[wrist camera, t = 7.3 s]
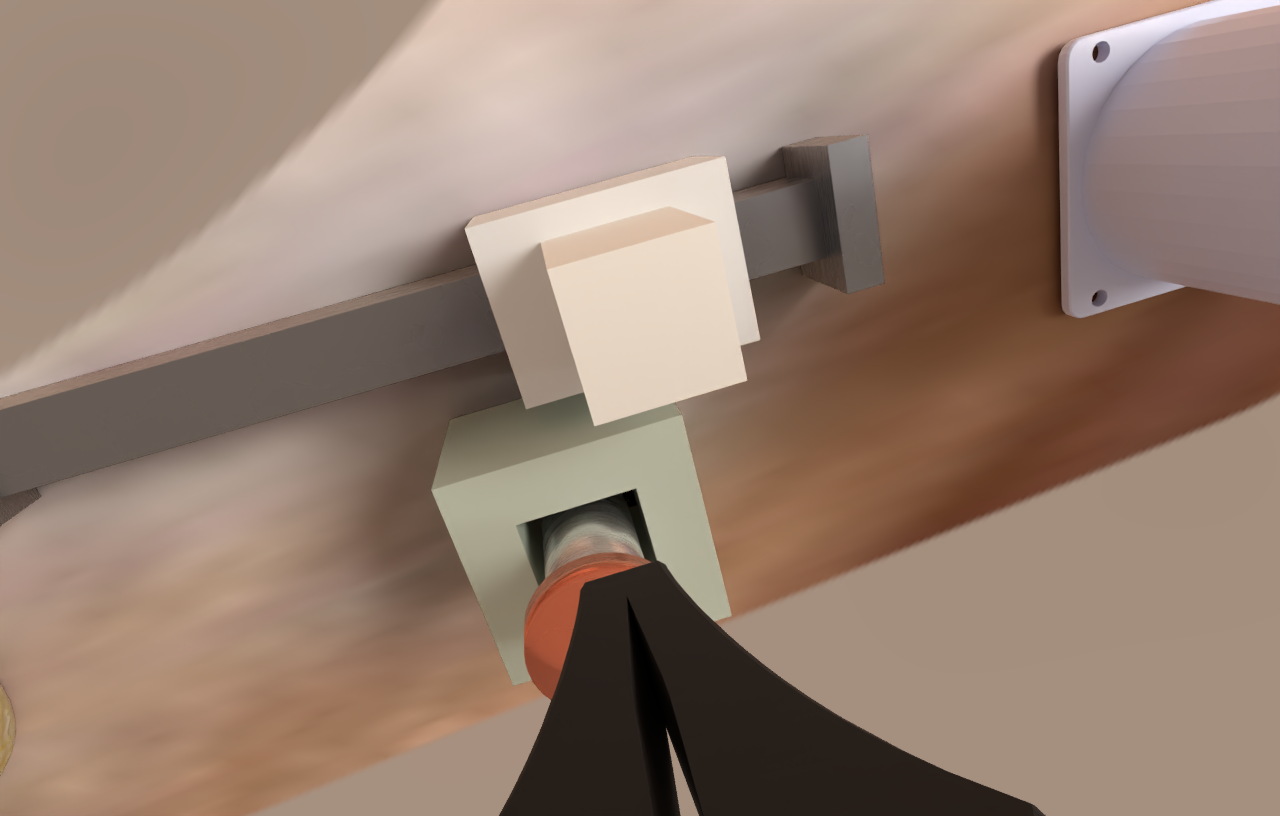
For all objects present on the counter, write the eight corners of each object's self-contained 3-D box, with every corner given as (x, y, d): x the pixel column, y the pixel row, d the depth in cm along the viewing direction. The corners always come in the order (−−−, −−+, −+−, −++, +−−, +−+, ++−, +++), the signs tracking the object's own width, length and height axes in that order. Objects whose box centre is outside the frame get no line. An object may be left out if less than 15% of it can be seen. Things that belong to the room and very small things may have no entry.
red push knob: (629, 445, 18) (670, 552, 13) (659, 550, 20) (706, 682, 15) (506, 483, 18) (501, 605, 13) (544, 586, 19) (552, 733, 14)
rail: (816, 137, 19) (868, 134, 16) (834, 265, 20) (884, 283, 17) (-81, 387, 17) (-196, 431, 14) (4, 507, 19) (-87, 569, 16)
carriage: (693, 155, 18) (790, 157, 12) (725, 313, 20) (827, 391, 13) (473, 217, 18) (446, 253, 11) (525, 371, 19) (527, 482, 13)
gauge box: (648, 361, 20) (681, 414, 16) (692, 530, 22) (731, 615, 18) (449, 419, 20) (431, 490, 16) (514, 585, 22) (513, 685, 18)
